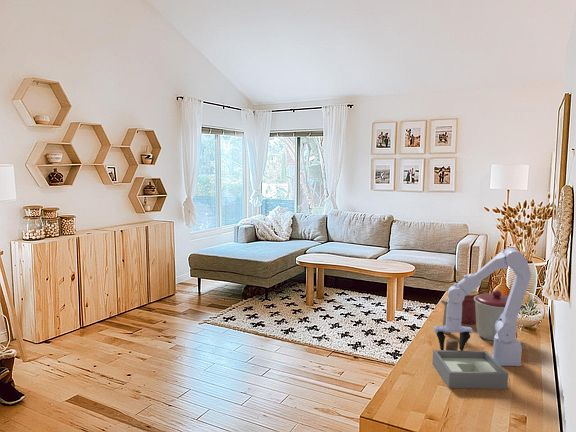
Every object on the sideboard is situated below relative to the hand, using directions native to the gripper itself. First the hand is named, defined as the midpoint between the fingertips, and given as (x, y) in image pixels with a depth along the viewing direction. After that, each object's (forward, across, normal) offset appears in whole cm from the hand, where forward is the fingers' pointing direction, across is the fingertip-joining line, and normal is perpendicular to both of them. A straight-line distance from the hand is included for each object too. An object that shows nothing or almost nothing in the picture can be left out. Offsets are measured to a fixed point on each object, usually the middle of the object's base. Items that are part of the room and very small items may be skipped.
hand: (451, 349), depth 184 cm
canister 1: (+2, -20, -40) cm, 45 cm away
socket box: (+2, 0, +17) cm, 17 cm away
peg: (+2, 0, 0) cm, 2 cm away
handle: (+2, -6, -23) cm, 24 cm away
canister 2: (+2, -25, -19) cm, 32 cm away
